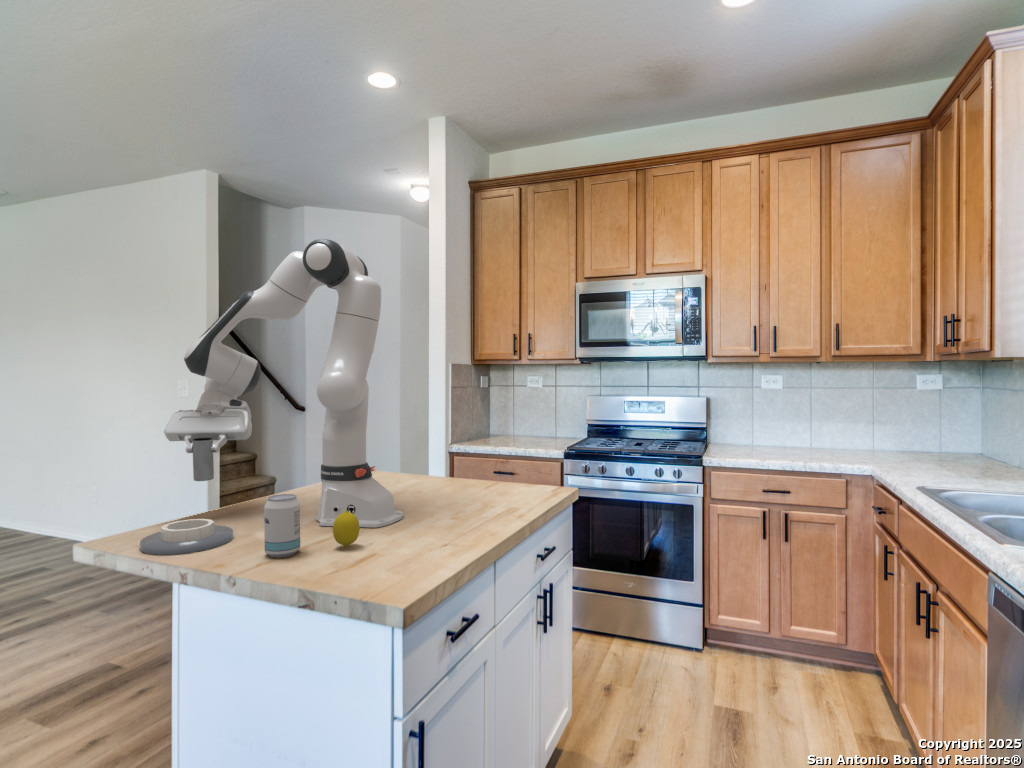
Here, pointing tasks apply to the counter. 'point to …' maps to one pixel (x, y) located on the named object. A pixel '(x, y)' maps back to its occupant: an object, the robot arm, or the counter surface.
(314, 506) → the counter surface
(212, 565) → the counter surface
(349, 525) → the lemon
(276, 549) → the beverage can
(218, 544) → the collar
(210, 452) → the grey hollow cylinder
